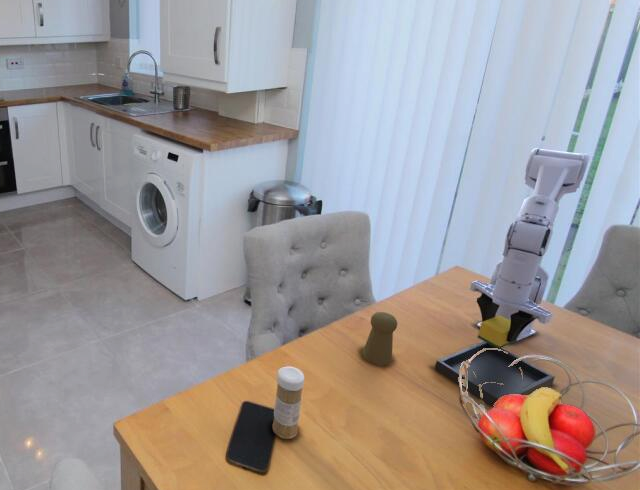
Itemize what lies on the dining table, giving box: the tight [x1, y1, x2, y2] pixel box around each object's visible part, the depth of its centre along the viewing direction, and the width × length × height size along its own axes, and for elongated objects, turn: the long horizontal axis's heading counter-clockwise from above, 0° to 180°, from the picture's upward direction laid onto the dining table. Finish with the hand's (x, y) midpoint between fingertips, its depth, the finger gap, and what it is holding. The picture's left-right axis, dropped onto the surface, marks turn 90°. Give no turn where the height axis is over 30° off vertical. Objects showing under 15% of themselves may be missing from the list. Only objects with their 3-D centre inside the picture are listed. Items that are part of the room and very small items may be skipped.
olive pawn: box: [362, 311, 398, 367], centre depth 107 cm, size 6×6×11 cm
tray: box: [434, 340, 556, 407], centre depth 101 cm, size 17×14×2 cm
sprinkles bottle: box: [271, 365, 305, 440], centre depth 88 cm, size 5×5×14 cm
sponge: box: [476, 315, 518, 349], centre depth 102 cm, size 6×4×4 cm
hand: (498, 333), depth 103 cm, fingers closed on sponge, 4 cm apart
